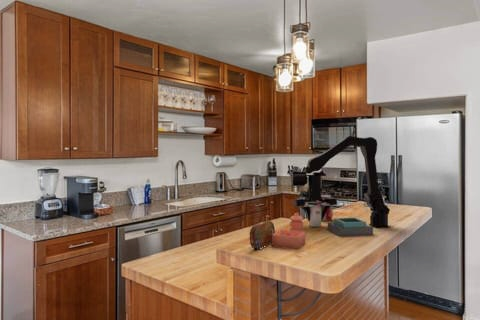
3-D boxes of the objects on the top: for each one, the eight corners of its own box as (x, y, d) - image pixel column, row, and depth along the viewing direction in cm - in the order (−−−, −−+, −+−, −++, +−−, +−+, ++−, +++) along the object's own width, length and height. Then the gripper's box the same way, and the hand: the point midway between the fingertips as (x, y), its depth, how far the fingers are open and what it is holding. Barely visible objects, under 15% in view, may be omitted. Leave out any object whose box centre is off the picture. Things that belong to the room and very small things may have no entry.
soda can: (331, 218, 167) (331, 194, 167) (333, 221, 160) (333, 196, 160) (316, 218, 168) (316, 194, 167) (318, 221, 160) (318, 196, 160)
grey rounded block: (318, 223, 153) (318, 206, 152) (324, 227, 145) (324, 209, 145) (307, 224, 152) (307, 206, 152) (312, 227, 145) (312, 209, 144)
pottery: (297, 249, 114) (297, 221, 114) (271, 246, 118) (271, 218, 118) (311, 237, 130) (311, 212, 130) (287, 235, 135) (287, 211, 134)
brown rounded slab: (256, 252, 112) (255, 227, 111) (247, 250, 113) (247, 226, 113) (275, 241, 124) (275, 219, 124) (268, 240, 126) (268, 218, 126)
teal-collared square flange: (358, 228, 145) (358, 216, 145) (373, 234, 133) (373, 222, 133) (327, 229, 143) (327, 218, 143) (339, 236, 131) (339, 223, 131)
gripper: (327, 184, 158) (327, 216, 159) (289, 184, 156) (289, 218, 156) (337, 186, 147) (337, 221, 148) (296, 187, 145) (297, 223, 145)
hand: (315, 220), depth 149 cm, fingers closed on grey rounded block, 5 cm apart
